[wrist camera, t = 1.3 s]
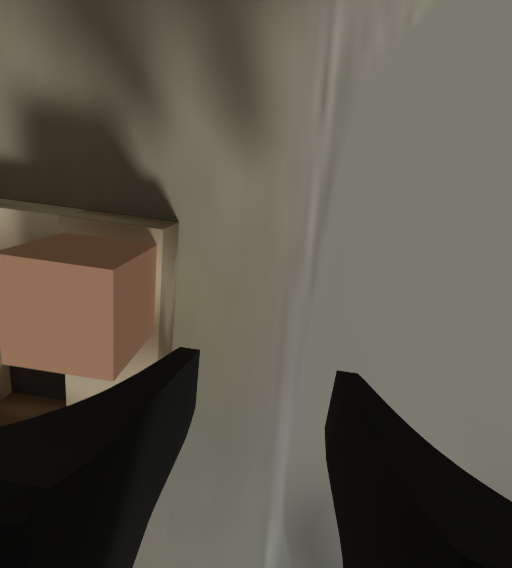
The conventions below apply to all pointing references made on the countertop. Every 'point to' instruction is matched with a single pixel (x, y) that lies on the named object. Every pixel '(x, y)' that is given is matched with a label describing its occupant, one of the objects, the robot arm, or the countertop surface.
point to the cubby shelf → (55, 219)
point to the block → (76, 304)
